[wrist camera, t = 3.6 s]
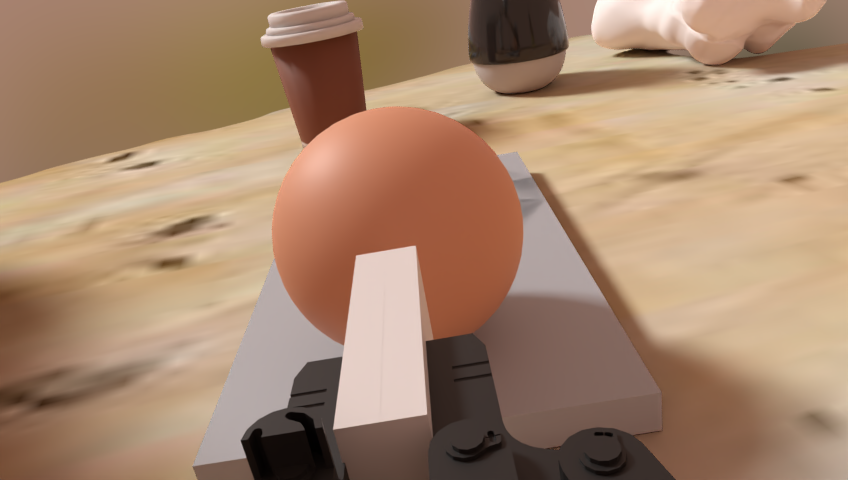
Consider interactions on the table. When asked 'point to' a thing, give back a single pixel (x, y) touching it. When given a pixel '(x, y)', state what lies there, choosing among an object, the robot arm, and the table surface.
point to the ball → (399, 217)
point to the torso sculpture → (698, 25)
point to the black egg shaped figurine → (517, 43)
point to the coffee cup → (318, 64)
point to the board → (502, 334)
